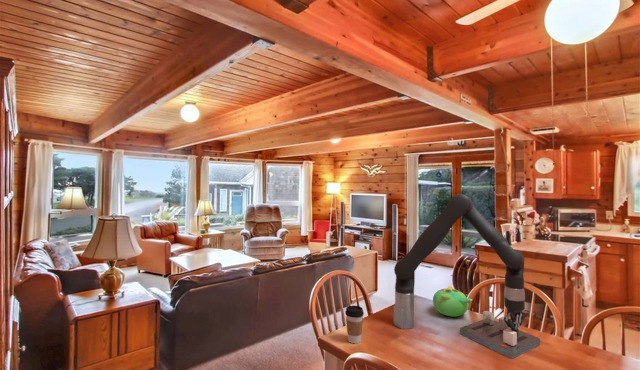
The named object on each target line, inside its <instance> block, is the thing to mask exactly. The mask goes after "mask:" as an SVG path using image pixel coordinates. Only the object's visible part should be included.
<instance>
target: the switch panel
mask: <svg viewBox="0 0 640 370" xmlns="http://www.w3.org/2000/svg"><path fill="white" fill-rule="evenodd" d="M504 317H505V316H501V317H498V320H495V313H494V312H491V311H489V310H484V311H482V319H481V320H478V321H474V322H473V323H470V324H465V326H462V327H461V326H460V327H459V335H461V336H463V337H465V338H467V339H469V340H471V341H473V342H476V343H478V344H479V345H482V346H483V347H486V348H488V349H490V350H492V351H494V352H497V353H499V354H500V355H503V356H505V357H507V358H508V359H511V360H513V359H515V358H517V357H519V356H521V355H523V354H525V353H527V352H529V351H530V350H531V351H532V350H533V349H536V348H537V347H540V345H541V338H540V337H539V336H535V335H532V334H530V333H527V332H525V331H522V330H521V329H518V337H517V344H516V345H514V346H512V345H509V344H507V343H505V342H503V330H505V329H509V330H511V328H510V327H508V326H507V324H506V323H505V321H504Z"/></svg>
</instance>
